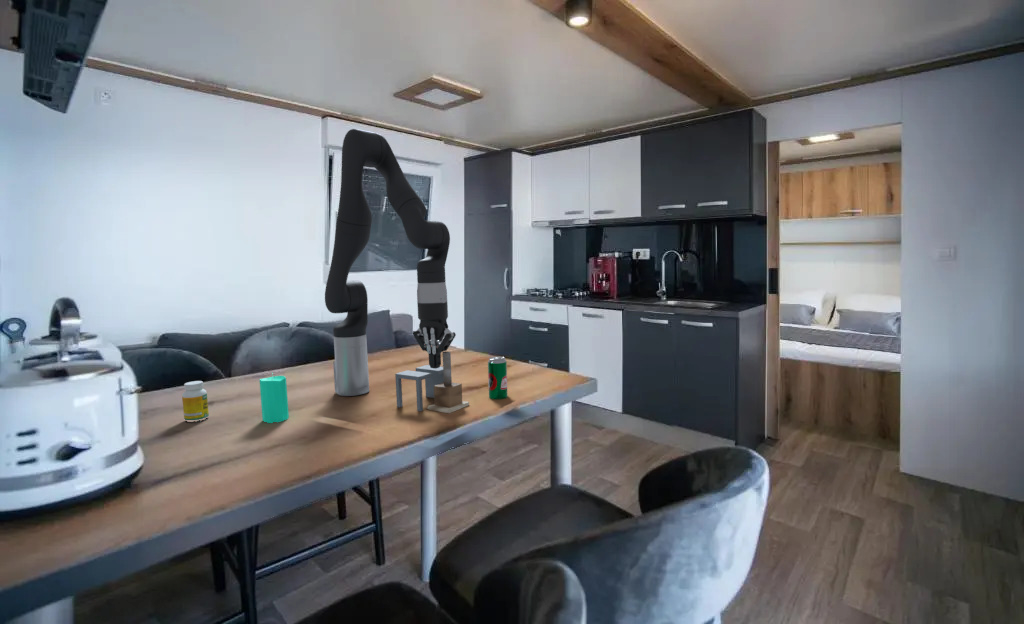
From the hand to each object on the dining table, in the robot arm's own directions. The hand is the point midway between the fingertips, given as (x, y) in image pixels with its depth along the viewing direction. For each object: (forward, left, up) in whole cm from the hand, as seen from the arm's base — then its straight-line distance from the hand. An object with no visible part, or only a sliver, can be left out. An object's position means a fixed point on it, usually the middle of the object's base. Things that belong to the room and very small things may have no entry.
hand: (435, 367), depth 131 cm
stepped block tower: (+4, 0, -10) cm, 11 cm away
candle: (-31, -25, -11) cm, 42 cm away
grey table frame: (-6, 0, -11) cm, 13 cm away
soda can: (+10, +14, -11) cm, 21 cm away
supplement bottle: (-49, -35, -11) cm, 62 cm away
